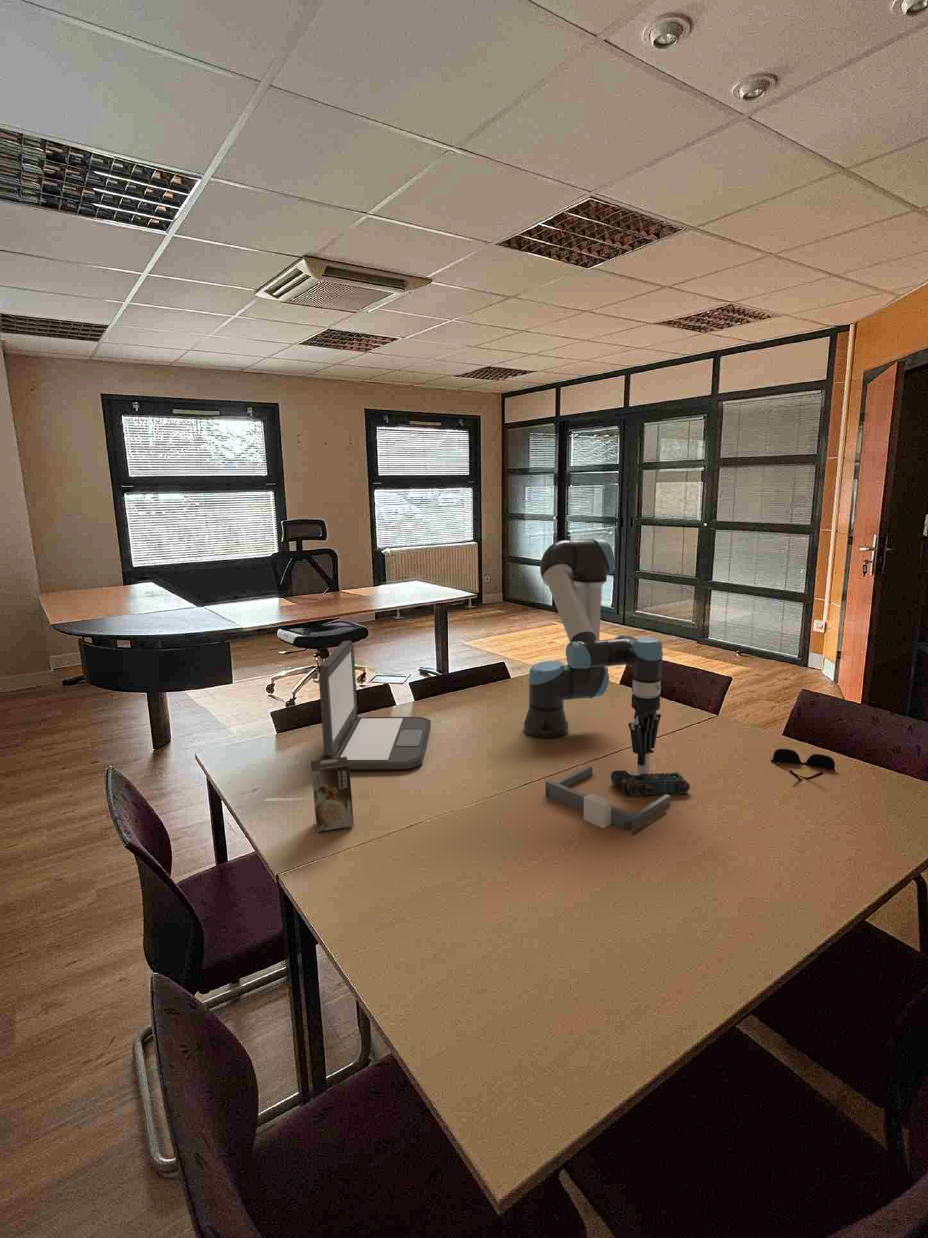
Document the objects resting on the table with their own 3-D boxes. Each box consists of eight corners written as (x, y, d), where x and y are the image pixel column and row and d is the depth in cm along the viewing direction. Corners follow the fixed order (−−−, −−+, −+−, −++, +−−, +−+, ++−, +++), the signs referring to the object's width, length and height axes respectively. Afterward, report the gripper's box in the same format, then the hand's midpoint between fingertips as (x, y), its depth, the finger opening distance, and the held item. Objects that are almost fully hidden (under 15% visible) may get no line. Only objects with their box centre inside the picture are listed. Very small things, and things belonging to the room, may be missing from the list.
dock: (538, 799, 167) (538, 778, 165) (589, 773, 181) (589, 753, 180) (628, 840, 146) (629, 816, 145) (677, 807, 161) (678, 785, 160)
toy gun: (609, 768, 174) (621, 784, 165) (676, 765, 176) (692, 781, 166) (609, 782, 175) (620, 799, 165) (676, 779, 176) (691, 796, 167)
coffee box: (351, 814, 161) (348, 755, 158) (354, 826, 155) (350, 766, 152) (315, 819, 159) (310, 760, 155) (316, 832, 153) (311, 771, 149)
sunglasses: (768, 781, 175) (770, 764, 174) (770, 761, 187) (772, 745, 186) (838, 793, 167) (840, 776, 166) (836, 771, 179) (837, 755, 178)
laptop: (420, 772, 184) (416, 668, 178) (316, 772, 186) (308, 669, 179) (431, 724, 222) (428, 637, 216) (345, 724, 223) (339, 638, 217)
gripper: (645, 703, 164) (641, 786, 169) (671, 691, 173) (667, 771, 178) (620, 696, 170) (618, 777, 175) (646, 686, 178) (643, 763, 183)
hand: (642, 774), depth 176 cm, fingers closed
